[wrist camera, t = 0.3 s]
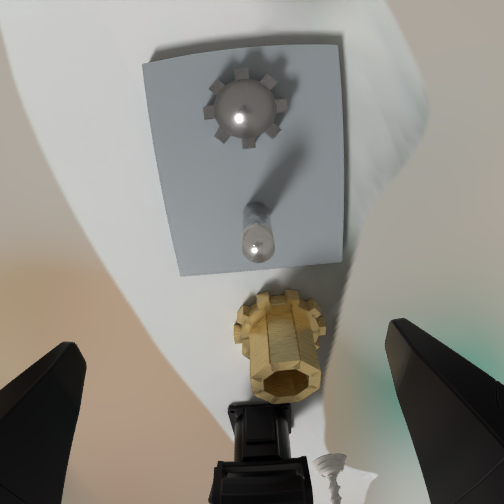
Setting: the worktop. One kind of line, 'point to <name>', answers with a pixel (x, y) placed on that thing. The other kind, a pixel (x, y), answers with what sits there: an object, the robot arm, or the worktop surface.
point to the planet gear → (281, 346)
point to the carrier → (250, 156)
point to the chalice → (331, 472)
